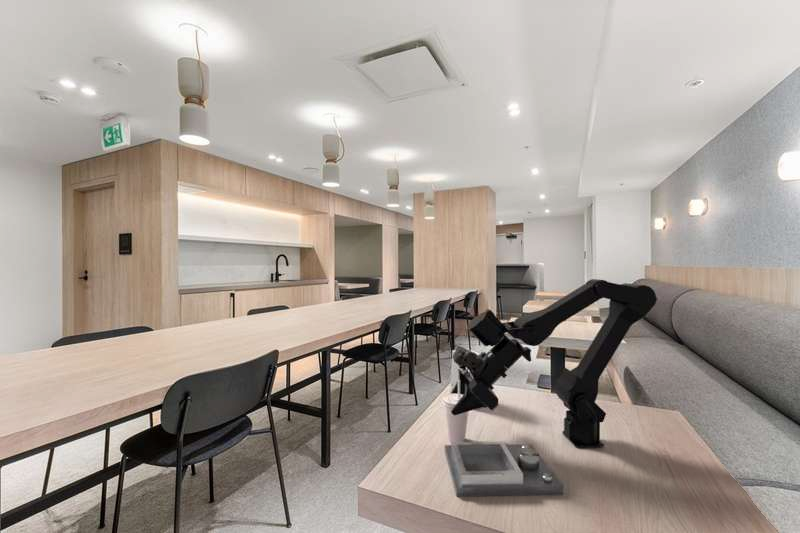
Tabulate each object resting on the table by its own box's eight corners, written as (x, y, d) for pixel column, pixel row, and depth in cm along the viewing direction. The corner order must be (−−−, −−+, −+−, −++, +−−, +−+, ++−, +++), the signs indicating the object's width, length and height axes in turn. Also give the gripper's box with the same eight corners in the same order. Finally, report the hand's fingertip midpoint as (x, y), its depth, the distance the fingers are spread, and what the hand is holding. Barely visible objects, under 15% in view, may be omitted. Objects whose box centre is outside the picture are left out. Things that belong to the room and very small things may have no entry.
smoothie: (470, 448, 76) (470, 385, 76) (441, 445, 77) (441, 383, 77) (470, 434, 82) (470, 376, 82) (443, 431, 84) (443, 374, 83)
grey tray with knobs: (531, 450, 75) (531, 435, 75) (563, 494, 61) (563, 475, 61) (444, 452, 75) (444, 436, 75) (456, 496, 61) (456, 476, 61)
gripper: (466, 327, 89) (423, 369, 89) (482, 345, 70) (428, 399, 70) (497, 357, 89) (454, 400, 89) (521, 384, 70) (467, 437, 70)
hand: (450, 407), depth 80 cm, fingers closed on smoothie, 6 cm apart
